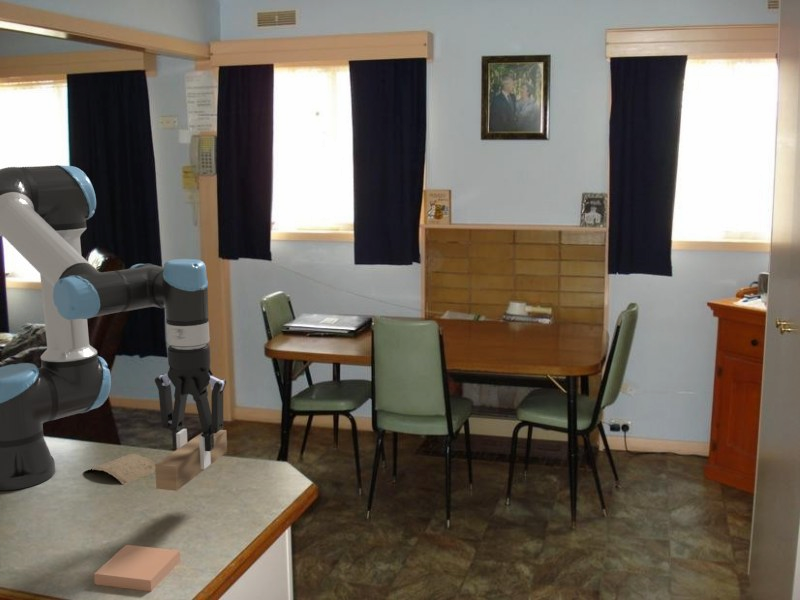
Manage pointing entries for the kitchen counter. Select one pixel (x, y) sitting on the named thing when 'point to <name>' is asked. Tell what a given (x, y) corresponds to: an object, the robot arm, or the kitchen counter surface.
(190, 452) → the walnut stick
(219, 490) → the kitchen counter surface
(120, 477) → the curved brown bark piece
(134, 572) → the terracotta tile
